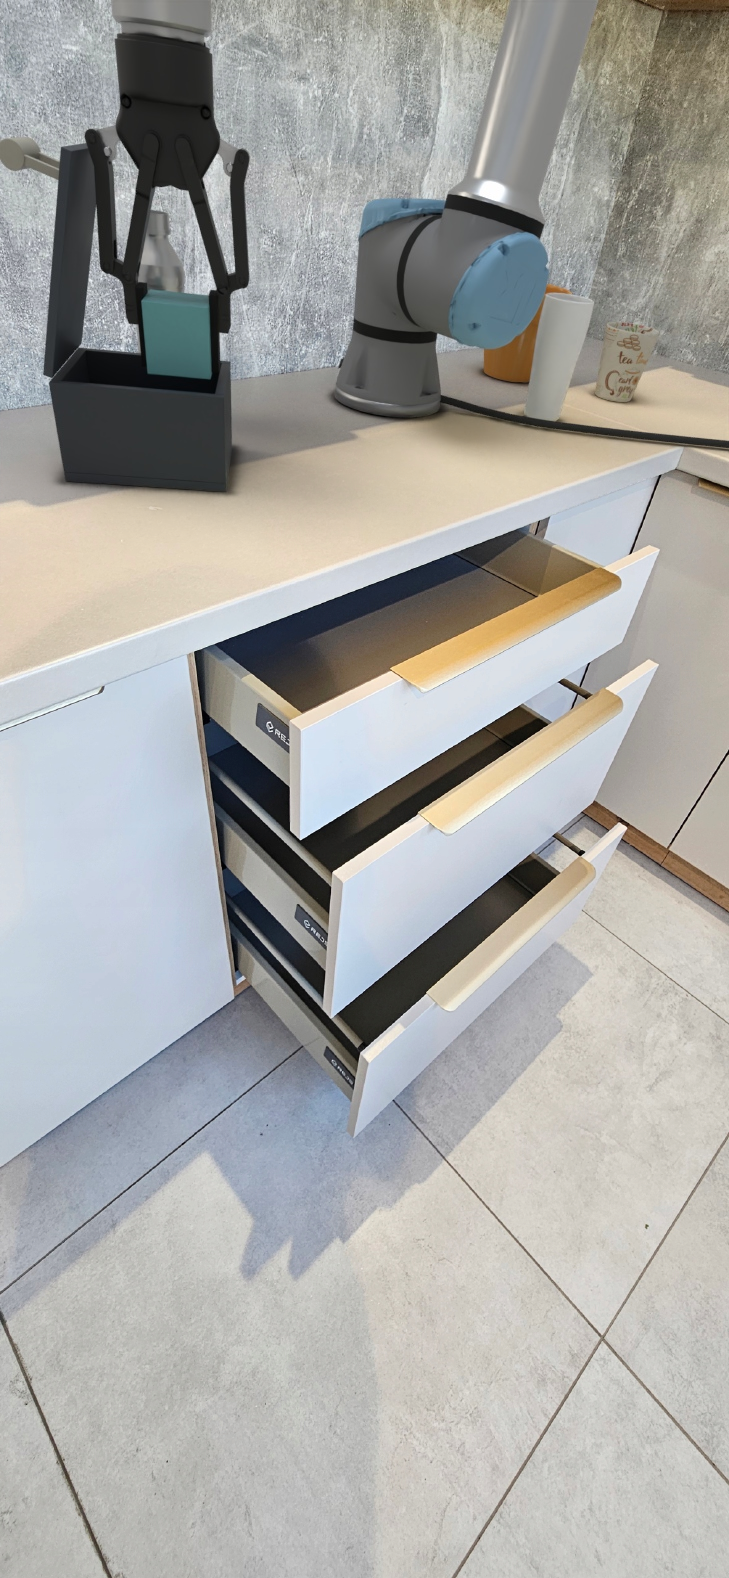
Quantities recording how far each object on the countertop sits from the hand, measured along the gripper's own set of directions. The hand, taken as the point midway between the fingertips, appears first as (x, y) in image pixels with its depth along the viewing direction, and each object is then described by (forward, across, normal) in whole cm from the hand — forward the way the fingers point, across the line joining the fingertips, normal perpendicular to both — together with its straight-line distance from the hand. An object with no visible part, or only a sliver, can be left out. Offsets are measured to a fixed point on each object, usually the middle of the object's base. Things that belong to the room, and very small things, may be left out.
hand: (181, 366), depth 73 cm
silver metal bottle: (+10, +4, -18) cm, 21 cm away
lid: (-8, +9, 0) cm, 12 cm away
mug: (+10, -67, -48) cm, 83 cm away
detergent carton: (0, 0, 0) cm, 0 cm away
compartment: (+10, +3, 0) cm, 10 cm away
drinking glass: (+10, -49, -30) cm, 58 cm away
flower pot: (+10, -50, -54) cm, 74 cm away
